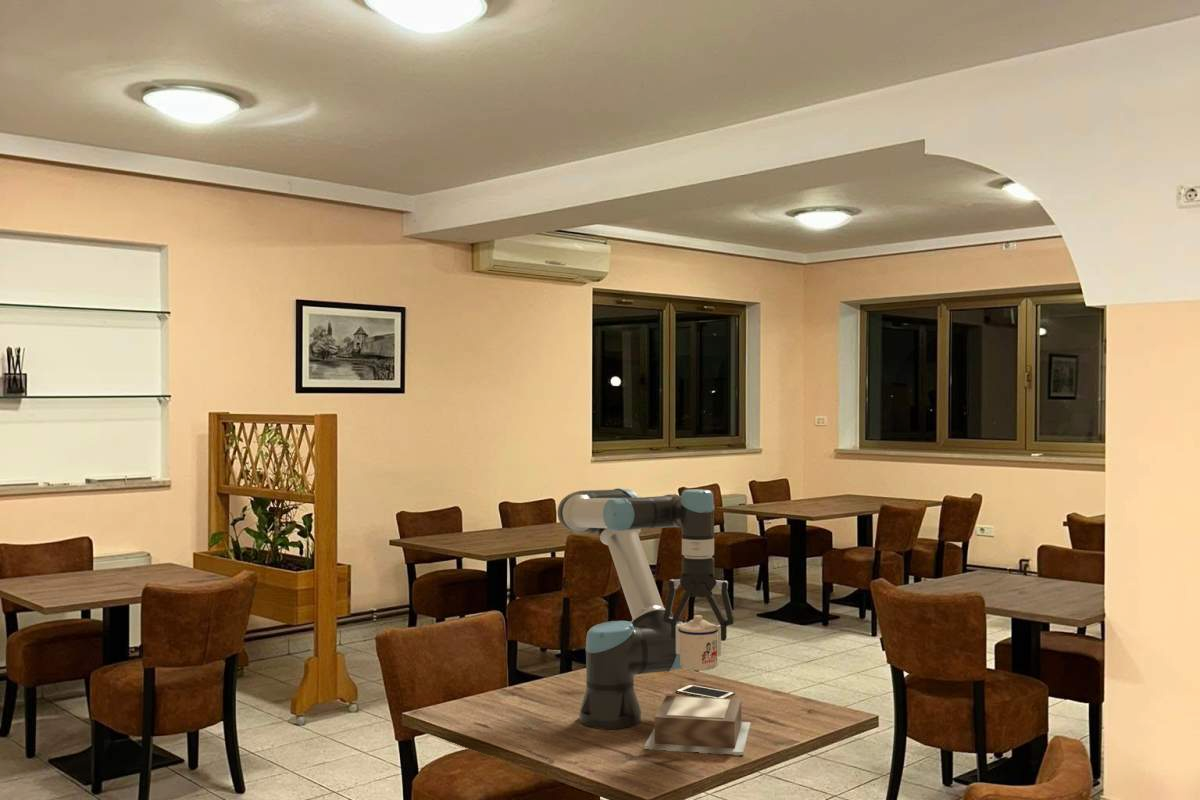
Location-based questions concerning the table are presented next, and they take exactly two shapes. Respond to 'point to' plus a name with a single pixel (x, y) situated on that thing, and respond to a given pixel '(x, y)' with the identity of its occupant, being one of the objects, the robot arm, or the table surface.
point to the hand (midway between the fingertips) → (698, 653)
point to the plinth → (699, 726)
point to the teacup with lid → (698, 644)
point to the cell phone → (704, 691)
